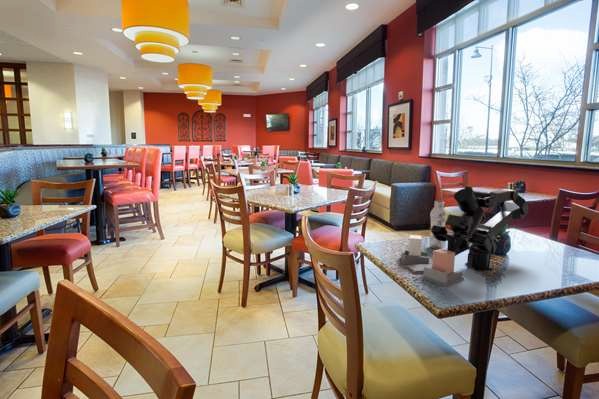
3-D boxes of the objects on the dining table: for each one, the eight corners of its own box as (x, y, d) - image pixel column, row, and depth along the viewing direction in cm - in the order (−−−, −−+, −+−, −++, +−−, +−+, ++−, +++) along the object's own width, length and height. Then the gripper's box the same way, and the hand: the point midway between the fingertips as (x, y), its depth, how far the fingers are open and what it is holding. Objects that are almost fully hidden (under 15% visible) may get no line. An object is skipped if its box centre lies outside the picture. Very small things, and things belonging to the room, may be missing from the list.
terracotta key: (439, 272, 113) (440, 248, 112) (453, 276, 109) (455, 252, 108) (431, 274, 111) (433, 250, 110) (445, 279, 107) (447, 254, 106)
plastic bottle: (434, 251, 141) (438, 203, 138) (424, 246, 148) (427, 200, 145) (448, 249, 143) (451, 202, 140) (437, 245, 149) (440, 200, 147)
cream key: (419, 256, 130) (420, 235, 129) (420, 260, 125) (421, 239, 124) (408, 255, 131) (409, 235, 130) (408, 259, 126) (410, 238, 125)
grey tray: (423, 255, 135) (424, 246, 134) (473, 285, 106) (474, 272, 105) (391, 257, 133) (392, 247, 132) (433, 287, 104) (434, 275, 103)
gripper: (435, 201, 119) (413, 237, 114) (490, 209, 103) (467, 251, 99) (447, 221, 124) (426, 256, 120) (501, 232, 109) (479, 272, 104)
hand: (447, 258), depth 110 cm, fingers closed, pressing on terracotta key
